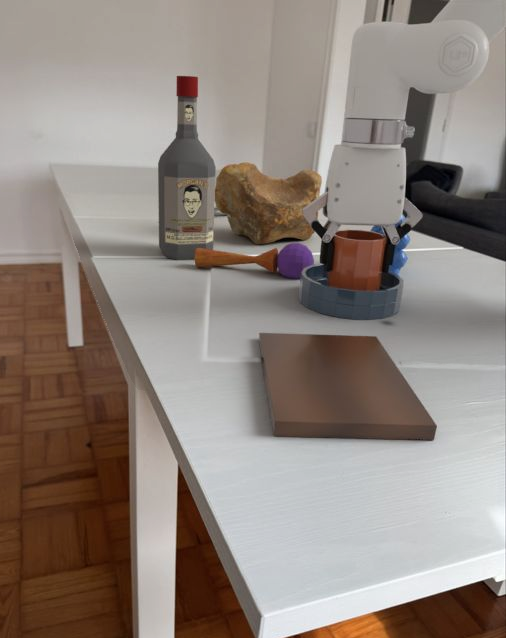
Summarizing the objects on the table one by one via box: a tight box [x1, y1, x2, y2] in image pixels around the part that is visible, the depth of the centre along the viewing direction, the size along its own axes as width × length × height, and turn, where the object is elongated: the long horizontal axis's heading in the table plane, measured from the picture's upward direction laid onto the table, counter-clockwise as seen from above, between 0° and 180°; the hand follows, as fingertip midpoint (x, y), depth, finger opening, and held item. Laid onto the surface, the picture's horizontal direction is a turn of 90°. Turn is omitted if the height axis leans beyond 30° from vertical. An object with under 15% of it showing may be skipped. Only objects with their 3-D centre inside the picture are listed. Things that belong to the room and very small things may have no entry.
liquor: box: [157, 75, 217, 261], centre depth 97 cm, size 9×9×30 cm
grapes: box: [370, 213, 411, 275], centre depth 93 cm, size 12×7×12 cm, turn 11°
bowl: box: [298, 263, 405, 321], centre depth 79 cm, size 14×14×4 cm
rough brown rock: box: [215, 162, 323, 245], centre depth 115 cm, size 23×17×15 cm
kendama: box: [194, 242, 315, 280], centre depth 92 cm, size 6×6×20 cm
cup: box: [326, 229, 387, 290], centre depth 77 cm, size 7×7×10 cm
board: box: [258, 332, 438, 441], centre depth 56 cm, size 14×20×2 cm
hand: (354, 268), depth 77 cm, fingers closed on cup, 7 cm apart
